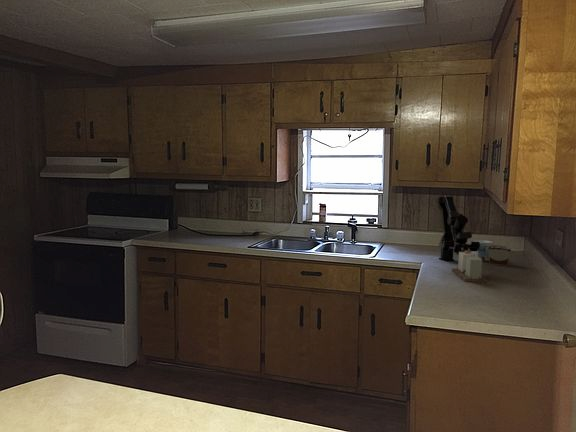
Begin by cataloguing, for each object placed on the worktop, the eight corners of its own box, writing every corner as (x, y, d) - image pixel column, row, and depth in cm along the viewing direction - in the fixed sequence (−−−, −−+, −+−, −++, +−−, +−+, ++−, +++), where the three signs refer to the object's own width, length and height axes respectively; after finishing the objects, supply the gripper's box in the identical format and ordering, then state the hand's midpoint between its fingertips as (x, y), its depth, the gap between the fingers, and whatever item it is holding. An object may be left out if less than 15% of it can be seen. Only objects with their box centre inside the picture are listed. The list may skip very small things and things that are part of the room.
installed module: (465, 274, 240) (466, 256, 239) (476, 275, 240) (477, 257, 238) (469, 277, 234) (470, 259, 233) (481, 278, 234) (482, 259, 232)
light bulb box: (477, 261, 280) (478, 242, 278) (470, 258, 286) (471, 240, 285) (493, 260, 282) (494, 242, 281) (485, 257, 289) (486, 240, 287)
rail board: (451, 270, 255) (452, 266, 255) (470, 271, 255) (471, 266, 254) (464, 281, 234) (464, 276, 234) (485, 281, 234) (485, 276, 233)
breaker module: (457, 268, 252) (459, 249, 250) (468, 269, 252) (469, 249, 250) (462, 272, 245) (463, 252, 244) (473, 272, 245) (474, 252, 243)
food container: (511, 264, 273) (512, 246, 272) (510, 266, 268) (511, 248, 267) (488, 261, 279) (489, 244, 278) (486, 263, 274) (487, 246, 273)
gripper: (444, 225, 255) (449, 250, 245) (480, 226, 254) (486, 251, 245) (439, 238, 264) (444, 262, 254) (474, 238, 263) (480, 263, 253)
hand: (463, 259), depth 251 cm, fingers closed, pressing on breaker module
